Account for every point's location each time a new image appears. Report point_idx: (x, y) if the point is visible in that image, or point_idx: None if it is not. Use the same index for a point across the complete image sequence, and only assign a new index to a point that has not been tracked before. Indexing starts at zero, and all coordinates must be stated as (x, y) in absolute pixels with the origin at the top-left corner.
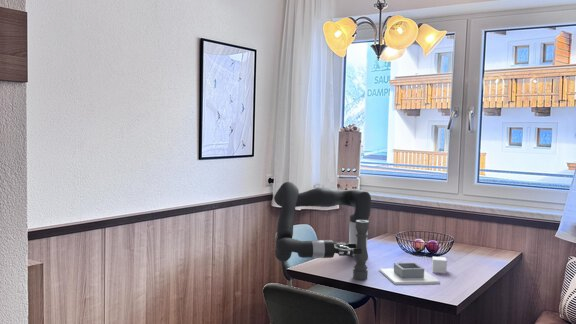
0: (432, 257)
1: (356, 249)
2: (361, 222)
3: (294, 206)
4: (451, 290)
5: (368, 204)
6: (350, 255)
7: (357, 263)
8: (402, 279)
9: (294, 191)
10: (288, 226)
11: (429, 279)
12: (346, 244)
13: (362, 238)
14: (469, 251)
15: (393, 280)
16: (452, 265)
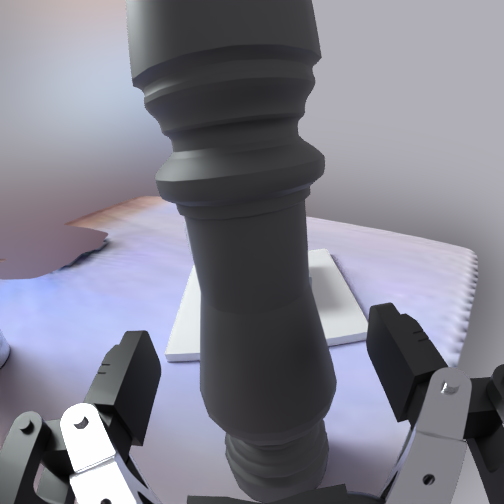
0: (185, 224)
1: (414, 346)
2: None
3: None
4: (377, 245)
5: None
6: (500, 432)
7: (299, 440)
8: (326, 309)
9: None
10: None
11: (312, 260)
12: (106, 428)
13: (307, 188)
14: (113, 218)
15: (348, 333)
16: (177, 232)
